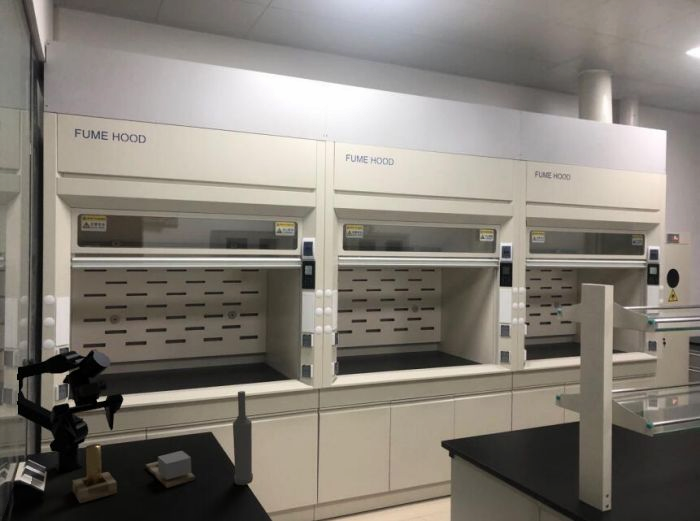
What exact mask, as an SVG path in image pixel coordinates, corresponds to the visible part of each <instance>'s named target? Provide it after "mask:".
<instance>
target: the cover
mask: <svg viewBox="0 0 700 521" xmlns="http://www.w3.org/2000/svg"><path fill="white" fill-rule="evenodd" d="M157 462H158V472H159V473H160V474H161V475H162V476H163V477H164V478H165V479H166V480H168V479H171V478H175V477H179V476H182V475H186V474H189V473H192V457H191V456H190V455H188V454H187V453H186V452H185V451H183V450H180V451H179V450H178V451H176V452H174V451H173V452H171V453H167V454H163V455H159V456H157Z"/></svg>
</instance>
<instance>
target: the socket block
mask: <svg viewBox="0 0 700 521" xmlns="http://www.w3.org/2000/svg"><path fill="white" fill-rule="evenodd" d="M117 486H118V485H117V481H116V479H115V478H114V477H113V475H111V473H110V472H109V471H105V472H102V483H100V484H96V485H92V486H88V487H87V476H86V477H85V476H84V477H81V478H77V479H72V492H73V494H74V496H75V498H76V499H77V500H78V503H79V504H83V503H87V502H90V501H93V500H98V499H100V498H103V497H107V496H108V497H109V496H111V495H115V494H117V493H118V490H117V489H118V488H117Z"/></svg>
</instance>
